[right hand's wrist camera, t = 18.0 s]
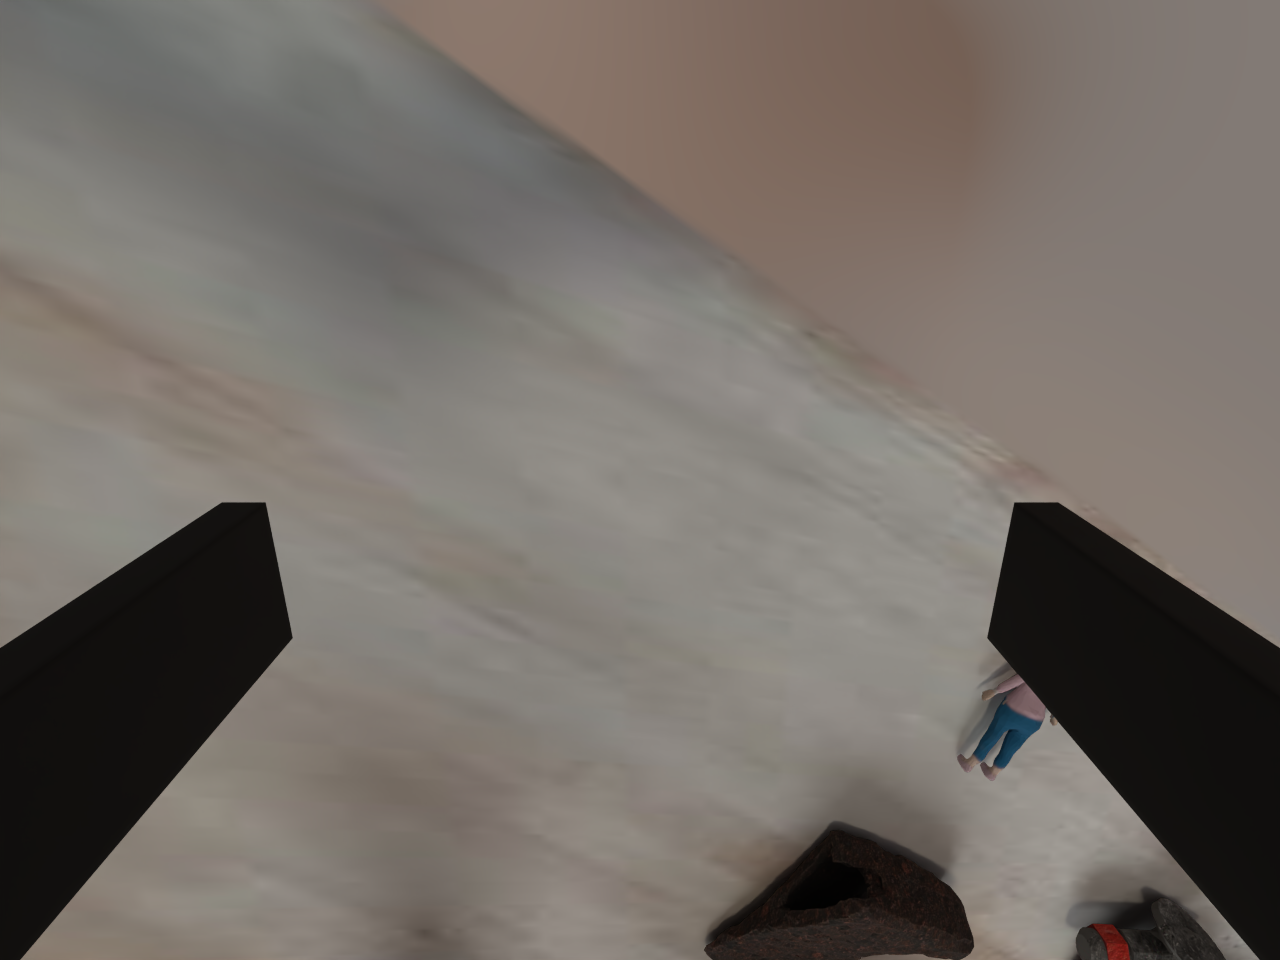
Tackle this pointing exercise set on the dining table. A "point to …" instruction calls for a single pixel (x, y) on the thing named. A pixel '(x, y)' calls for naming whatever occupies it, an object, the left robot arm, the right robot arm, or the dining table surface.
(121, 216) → the dining table surface
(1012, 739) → the figurine
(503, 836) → the dining table surface
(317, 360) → the dining table surface
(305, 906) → the dining table surface
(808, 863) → the axe head
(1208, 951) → the valve
